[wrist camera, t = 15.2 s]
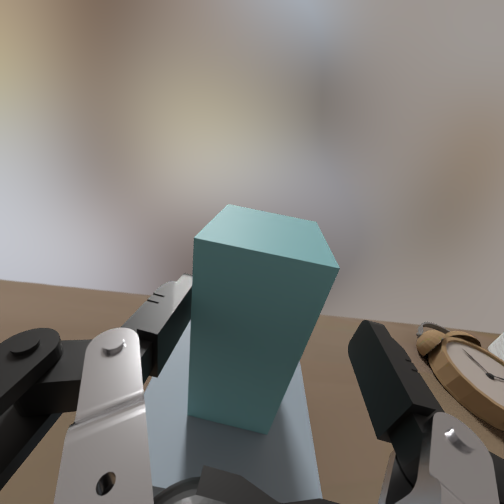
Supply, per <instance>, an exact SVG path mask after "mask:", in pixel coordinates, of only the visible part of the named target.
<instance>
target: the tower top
mask: <svg viewBox="0 0 504 504" xmlns="http://www.w3.org/2000/svg"><path fill="white" fill-rule="evenodd" d="M190 329H191V320H190V322H189V323H188V325H187V327H186V329H185V330H184V332H183V334H182V336H181V337H180V339H179V341H178V343H177V345H176V346H175V348H174V350H173V352H172V353H171V355H170V357H169V359H168V360H167V362H166V364H165V366H164V367H163V369H162V371H161V373H160V374H159V376H158V378H156V377H152V379H151V381H150V383H149V385H148V387H147V389H146V390H145V392H144V399H145V409H146V421H147V432H148V444H149V455H150V466H151V478H152V489H153V497H155V496H156V495H157V494H158V493H159V492H161V491H162V490H164V489H166V488H167V487H169V486H170V485H172V484H174V483H177V482H179V481H181V480H184V479H188V478H191V477H199V476H201V472H202V468H203V465H206V466H209V467H213V468H216V469H220V470H223V471H227V472H230V473H234V474H237V475H241V476H242V477H244V478H245V479H246V480H248V481H249V482H251V483H252V484H253V485H255V486H256V487H258V488H259V489H261V490H262V491H263V492H265V493H266V494H268V495H269V496H270V497H272V498H273V499H275V500H276V501H278V502H280V503H288V502H295V501H303V500H310V499H318V498H321V499H322V493H321V487H320V481H319V475H318V469H317V463H316V457H315V451H314V444H313V438H312V432H311V426H310V420H309V414H308V408H307V402H306V396H305V390H304V384H303V378H302V372H301V366H300V361H299V363H298V365H297V368H296V370H295V372H294V375H293V377H292V379H291V381H290V384H289V386H288V388H287V391H286V393H285V395H284V397H283V400H282V402H281V404H280V407H279V409H278V411H277V414H276V416H275V418H274V420H273V423H272V425H271V427H270V430H269V432H268V434H267V435H266V434H262V433H258V432H254V431H249V430H245V429H241V428H237V427H233V426H229V425H225V424H221V423H217V422H213V421H209V420H205V419H201V418H197V417H192V416H188V415H187V407H188V381H189V355H190Z"/></svg>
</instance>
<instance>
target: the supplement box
mask: <svg viewBox="0 0 504 504" xmlns="http://www.w3.org/2000/svg"><path fill="white" fill-rule="evenodd" d="M488 350H489V352H491V353H492V354H494V355H495V356H497V357H499V358H500V359H502V360H503V361H504V332H503V333H502V334H501V335H500V336H499V337H498V338H497V339H496V340H495V341H494V342H493V343H492V344H491V345H490V346H489V347H488Z"/></svg>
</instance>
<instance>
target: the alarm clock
mask: <svg viewBox="0 0 504 504" xmlns="http://www.w3.org/2000/svg"><path fill="white" fill-rule="evenodd" d="M423 327H429V328H433V329H435V330H429V331H426V332H424V333H423ZM437 330H438V331H437ZM422 333H423V334H422ZM416 335H417V336H418V337H417V338H418V340H417V344H416V346H417V350H418V351H419V353H420V354H421V355H422V356H424V355H426V354H427V353H428V352H429V351H430V350H431V351H430V353H429V354H428V357H429V364H430V366H431V368H432V370H433V372H434V374H435V375H436V377H437V378H438V380H439V381H440V382H441V384H442V385H443V386H444V388H445V389H446V390H447V391H448V392H449V393H450V394H451V395H452V396H453V397H454V398H455V399H456V400H457V401H458V402H459V403H460V404H461V405H463V406H464V407H465V408H466V409H467V410H469V411H470V412H471V413H473V414H474V415H475V416H477V417H478V418H480V419H482V420H483V421H485V422H487V423H488V424H490V425H492V426H493V427H495V428H497V429H499V430H502V431H504V361H503V360H502V359H500V358H499V357H497V356H495V355H494V354H492V353H491V352H489V351H487V350H486V349H484V348H482V347H481V344H480V342H479V341H478V340H477V339H476V338H475V337H474V336H472V335H470V334H469V333H466V332H462V331H452V332H450V331H449V330H447V329H445V328H443V327H441V326H439V325H437V324H434V323H430V322H424V323H422V324H421V325H420V326H419V327H418V333H417V334H416ZM440 340H441V343H439V344H438V342H439V341H440ZM437 344H438V345H437ZM436 345H437V346H436ZM434 347H435V348H434ZM433 348H434V349H433Z"/></svg>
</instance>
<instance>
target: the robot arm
mask: <svg viewBox="0 0 504 504" xmlns="http://www.w3.org/2000/svg"><path fill="white" fill-rule="evenodd" d="M192 277H193V275H189V274H183V275H182V276H181V278H180V279H179V280H178V281H177V282H174V281H169V282H167V283H165V284H163V285H161V286H160V287H159V288H158V289H157V290H156V291H155V292H154V293H153V295H151V296H150V297H149V298H148V300H147V301H145V302H144V304H143V305H142V306H141V307H140V308H139V309H138V310H137V311H136V312H135V313H134V314H133V315H132V316H131V317H130V318H129V319H128V320H127V321H126V322H125V323H124V324H123V325H122V326H121V327H120V328H114V329H110V330H108V331H105V332H103V333H101V334H99V335H98V336H97V337H95V338H94V339H91V340H63V341H61V339H60V336H59V334H58V332H57V331H55V330H53V329H49V328H37V329H31V330H28V331H24V332H21V333H19V334H16V335H14V336H12V337H10V338H8V339H7V340H5V341H3V342H2V343H0V490H1V489H2V488H3V487H4V485H5V484H6V483H7V482H8V481H9V479H10V478H11V477H12V476H13V474H14V473H15V472H16V471H17V469H18V468H19V467H20V466H21V464H22V463H23V462H24V461H25V459H26V458H27V457H28V456H29V454H30V453H31V452H32V451H33V449H34V448H35V447H36V446H37V444H38V443H39V442H40V441H41V439H42V438H43V437H44V436H45V434H46V433H47V432H48V431H49V429H50V428H51V427H52V426H53V424H54V423H55V422H56V421H57V419H58V418H59V417H60V416H61V414H62V413H64V412H73V411H77V412H76V418H75V421H74V423H73V424H71V425H70V426H69V428H68V431H67V434H66V437H65V442H64V447H63V453H62V459H61V464H60V470H59V476H58V481H57V487H56V493H55V499H54V504H339V503H335V502H332V501H328V500H325V499H321V498H318V499H310V500H303V501H295V502H288V503H280V502H278V501H276V500H275V499H273V498H272V497H270V496H269V495H268V494H266V493H265V492H263V491H262V490H261V489H259V488H258V487H256V486H255V485H253V484H252V483H251V482H249V481H248V480H246V479H245V478H244V477H242V476H241V475H237V474H234V473H230V472H227V471H223V470H220V469H216V468H213V467H209V466H206V465H203V468H202V472H201V476H199V477H191V478H188V479H184V480H181V481H179V482H177V483H174V484H172V485H170V486H169V487H167V488H166V489H164V490H162V491H161V492H159V493H158V494H157V495H156V496H155V497H153V489H152V478H151V466H150V455H149V444H148V432H147V421H146V409H145V399H144V392H143V384H144V383H145V381H146V379H147V378H148V376H153V377H156V378H158V376H159V374H160V373H161V371H162V369H163V367H164V366H165V364H166V362H167V360H168V359H169V357H170V355H171V353H172V352H173V350H174V348H175V346H176V345H177V343H178V341H179V339H180V337H181V336H182V334H183V332H184V330H185V329H186V327H187V325H188V323H189V322H190V320H191V303H192ZM348 354H349V358H350V361H351V364H352V366H353V369H354V372H355V375H356V378H357V381H358V384H359V387H360V390H361V393H362V396H363V399H364V401H365V404H366V407H367V410H368V413H369V416H370V419H371V422H372V425H373V428H374V431H375V434H376V436H377V439H379V440H382V441H386V442H389V443H392V445H393V448H394V450H393V451H392V452H391V454H390V456H389V460H388V465H387V469H386V473H385V477H384V481H383V485H382V489H381V494H380V498H379V502H378V504H504V459H502V458H500V457H498V456H497V455H495V454H493V453H491V452H489V451H488V450H487V448H486V447H485V445H484V444H483V442H482V441H481V440H480V439H479V438H478V436H477V435H476V434H475V433H474V432H473V431H472V430H471V429H470V428H468V427H467V426H466V425H465V424H464V423H462V422H461V421H460V420H458V419H457V418H455V417H453V416H451V415H449V414H447V413H445V412H444V411H443V409H442V407H441V406H440V404H439V403H438V401H437V400H436V398H435V397H434V395H433V393H432V392H431V390H430V389H429V387H428V386H427V384H426V383H425V381H424V380H423V378H422V376H421V375H420V373H418V372H417V371H418V370H417V369H416V367H415V366H414V364H413V363H411V359H410V358H409V356H408V355H407V353H406V352H405V350H404V349H403V348H402V347H401V346H400V345H399V344H398V343H397V342H396V341H395V340H394V339H393V338H392V337H391V336H390V334H389V332H388V331H387V329H386V328H385V326H384V325H383V324H379V323H376V322H372V321H368V320H364V321H362V322H361V324H360V325H359V327H358V329H357V330H356V332H355V334H354V335H353V337H352V339H351V340H350V342H349V345H348Z"/></svg>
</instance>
